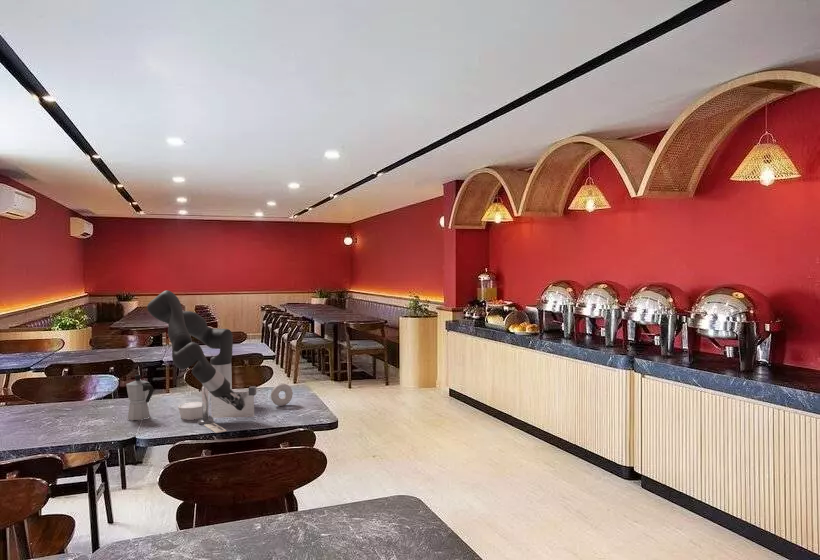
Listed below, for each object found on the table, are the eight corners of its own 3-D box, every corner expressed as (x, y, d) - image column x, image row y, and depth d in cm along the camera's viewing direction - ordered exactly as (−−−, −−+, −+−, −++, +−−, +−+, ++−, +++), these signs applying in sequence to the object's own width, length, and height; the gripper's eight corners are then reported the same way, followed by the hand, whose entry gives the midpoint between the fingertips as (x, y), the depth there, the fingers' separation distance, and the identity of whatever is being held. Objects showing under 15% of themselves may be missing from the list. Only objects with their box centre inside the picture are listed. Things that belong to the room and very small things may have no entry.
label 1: (204, 425, 229) (204, 424, 229) (214, 423, 231) (214, 422, 231) (209, 428, 224) (209, 427, 224) (219, 427, 226) (219, 425, 226)
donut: (291, 403, 263) (290, 381, 263) (294, 404, 261) (293, 382, 260) (269, 406, 258) (269, 384, 257) (272, 408, 255) (272, 385, 255)
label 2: (210, 429, 223) (210, 428, 223) (220, 427, 226) (220, 426, 226) (216, 433, 218) (216, 431, 218) (226, 431, 221) (226, 429, 221)
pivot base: (194, 422, 233) (194, 420, 233) (208, 419, 237) (208, 417, 237) (202, 425, 229) (202, 423, 229) (216, 422, 233) (216, 419, 233)
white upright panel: (201, 420, 231) (200, 387, 231) (203, 418, 234) (203, 385, 234) (255, 418, 233) (254, 386, 232) (256, 416, 236) (256, 384, 235)
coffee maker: (118, 419, 240) (117, 375, 239) (136, 413, 248) (135, 371, 247) (144, 423, 233) (143, 378, 233) (162, 417, 241) (161, 374, 241)
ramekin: (173, 417, 241) (173, 405, 241) (199, 412, 250) (199, 400, 249) (186, 422, 234) (186, 409, 234) (212, 416, 242) (212, 404, 242)
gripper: (198, 388, 224) (224, 414, 234) (220, 392, 216) (247, 418, 226) (209, 373, 228) (235, 398, 238) (232, 376, 220) (257, 402, 231)
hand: (241, 408), depth 232 cm, fingers closed
